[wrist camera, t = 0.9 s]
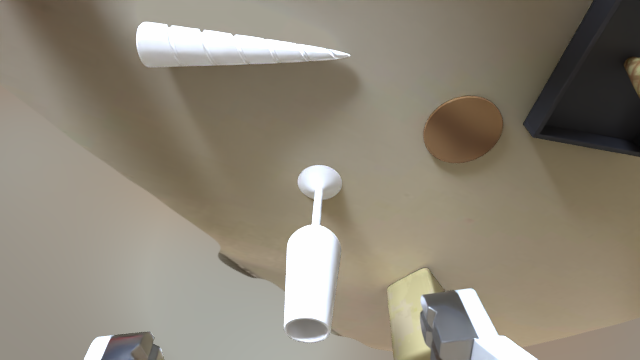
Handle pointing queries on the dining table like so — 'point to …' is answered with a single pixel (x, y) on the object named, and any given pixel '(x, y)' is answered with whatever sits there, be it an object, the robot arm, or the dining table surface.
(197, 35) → the unicorn horn
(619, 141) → the tray
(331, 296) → the champagne flute
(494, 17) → the dining table surface
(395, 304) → the cheese
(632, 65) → the ice cream cone
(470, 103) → the coaster
